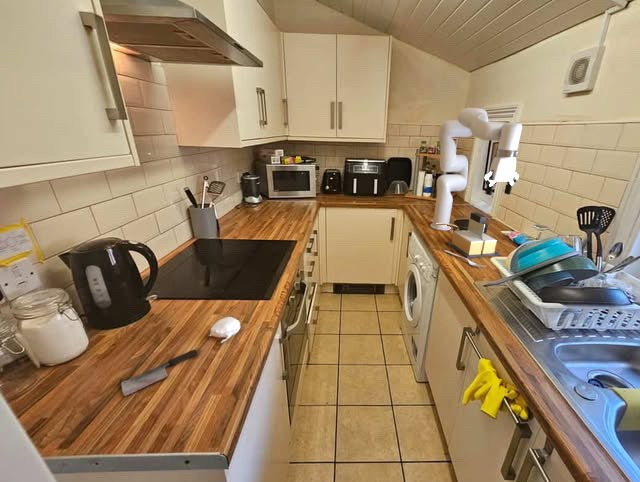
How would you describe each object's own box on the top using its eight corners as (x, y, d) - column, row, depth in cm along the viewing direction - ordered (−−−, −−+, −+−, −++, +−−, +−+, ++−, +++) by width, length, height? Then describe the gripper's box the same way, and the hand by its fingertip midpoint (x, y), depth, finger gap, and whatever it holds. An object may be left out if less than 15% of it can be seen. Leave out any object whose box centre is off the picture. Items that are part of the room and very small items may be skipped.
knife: (465, 230, 154) (468, 211, 150) (470, 230, 155) (473, 211, 151) (479, 238, 143) (483, 218, 139) (484, 238, 144) (488, 218, 140)
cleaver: (122, 395, 65) (119, 381, 68) (124, 398, 65) (121, 384, 69) (201, 358, 75) (195, 348, 78) (202, 361, 75) (195, 351, 79)
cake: (446, 243, 159) (448, 229, 156) (475, 241, 163) (478, 228, 160) (467, 258, 141) (469, 243, 138) (500, 255, 145) (503, 241, 142)
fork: (446, 249, 150) (446, 246, 149) (486, 269, 131) (487, 265, 130) (441, 250, 149) (442, 247, 148) (481, 270, 129) (482, 266, 129)
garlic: (221, 344, 82) (219, 333, 80) (205, 336, 85) (203, 325, 83) (244, 329, 88) (243, 318, 87) (229, 321, 91) (227, 311, 90)
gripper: (517, 153, 133) (508, 192, 140) (483, 153, 129) (475, 192, 136) (529, 155, 126) (520, 195, 133) (494, 154, 122) (485, 196, 129)
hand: (497, 194), depth 135 cm, fingers open, 9 cm apart
